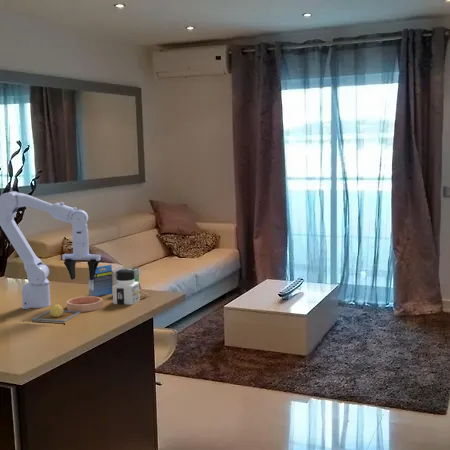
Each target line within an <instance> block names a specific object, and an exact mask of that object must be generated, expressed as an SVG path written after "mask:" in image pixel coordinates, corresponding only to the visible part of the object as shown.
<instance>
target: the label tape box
mask: <svg viewBox="0 0 450 450" xmlns="http://www.w3.org/2000/svg"><path fill="white" fill-rule="evenodd" d="M112 267H113V266H112V264H108V265H101V266H97V268H96V271H95V276H94V279H93V280H90V276H88V296H93V297H100V296H103V295H113V269H112Z"/></svg>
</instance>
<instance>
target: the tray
mask: <svg viewBox="0 0 450 450" xmlns="http://www.w3.org/2000/svg"><path fill="white" fill-rule="evenodd" d="M49 313H50V309H49V310H47V311H45V312H43V313H41V314H39V315H37V316H36V317H33V318H31V320H32V321H31V322H32V323H37V324H52V323H54V325H56V324H57V325H66V324H65V323H66V322H67V321H69V320H71V319H72V318H74V317H76V316H77V315H80V314H82V312H81V311H69V310H64V309H63V313H74V314H72V315H70V316H68V317H67V318H65V319H50V318H41V317H43V316H45V315H47V314H49Z"/></svg>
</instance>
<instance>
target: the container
mask: <svg viewBox="0 0 450 450" xmlns="http://www.w3.org/2000/svg"><path fill="white" fill-rule="evenodd" d="M132 269H133V268H121V269H117V270H116V271H117V281H116V283H115V284H114V285H113V284H112V304H113V305H135V304H136V303H137V302H139V301H140V299H141V298H140V281H139V282H134V281H135V277H134V270H132ZM117 282H118V283H117Z"/></svg>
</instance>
